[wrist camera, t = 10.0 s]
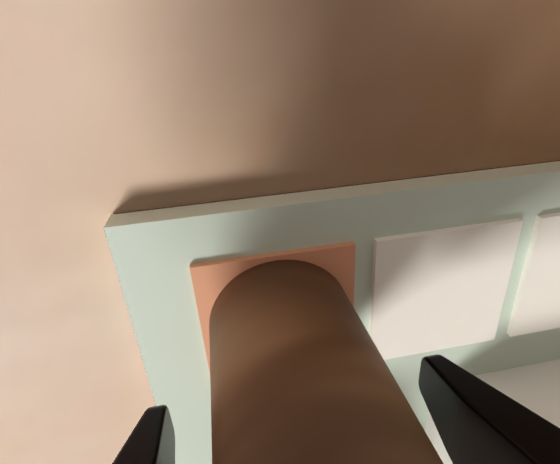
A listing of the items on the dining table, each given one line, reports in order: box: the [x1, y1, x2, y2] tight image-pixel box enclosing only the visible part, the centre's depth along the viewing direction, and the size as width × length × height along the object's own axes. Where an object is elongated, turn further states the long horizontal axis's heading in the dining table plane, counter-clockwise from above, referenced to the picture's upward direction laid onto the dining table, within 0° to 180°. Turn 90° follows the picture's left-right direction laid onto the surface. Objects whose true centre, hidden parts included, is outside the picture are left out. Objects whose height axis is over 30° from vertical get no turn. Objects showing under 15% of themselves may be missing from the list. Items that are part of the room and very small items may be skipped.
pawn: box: [209, 260, 443, 464], centre depth 8 cm, size 4×4×6 cm
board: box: [104, 161, 560, 464], centre depth 13 cm, size 18×16×4 cm
